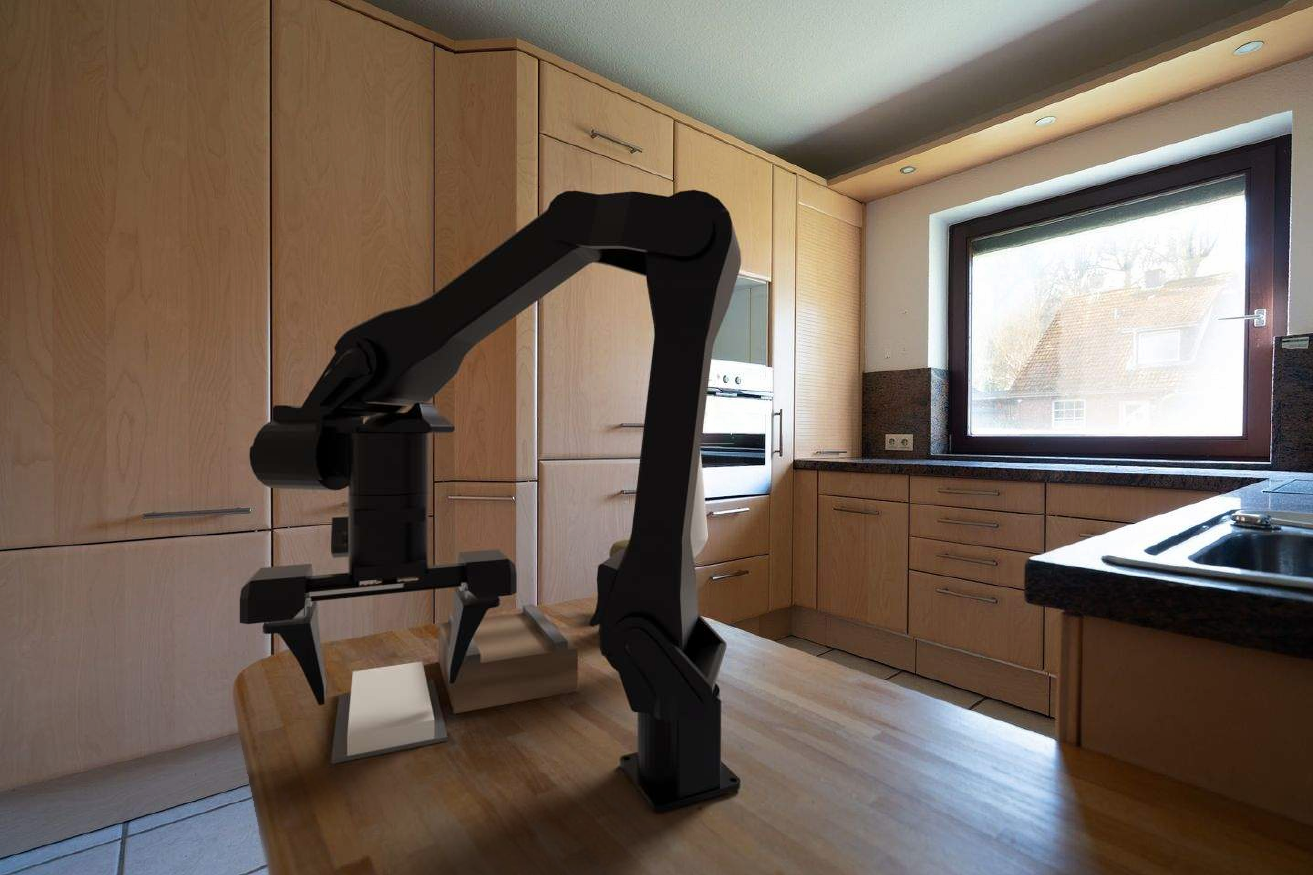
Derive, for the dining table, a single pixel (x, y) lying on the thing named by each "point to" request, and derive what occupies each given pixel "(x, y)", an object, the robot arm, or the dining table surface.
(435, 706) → the mat
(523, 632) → the lid box
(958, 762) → the dining table surface
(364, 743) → the cover plate
